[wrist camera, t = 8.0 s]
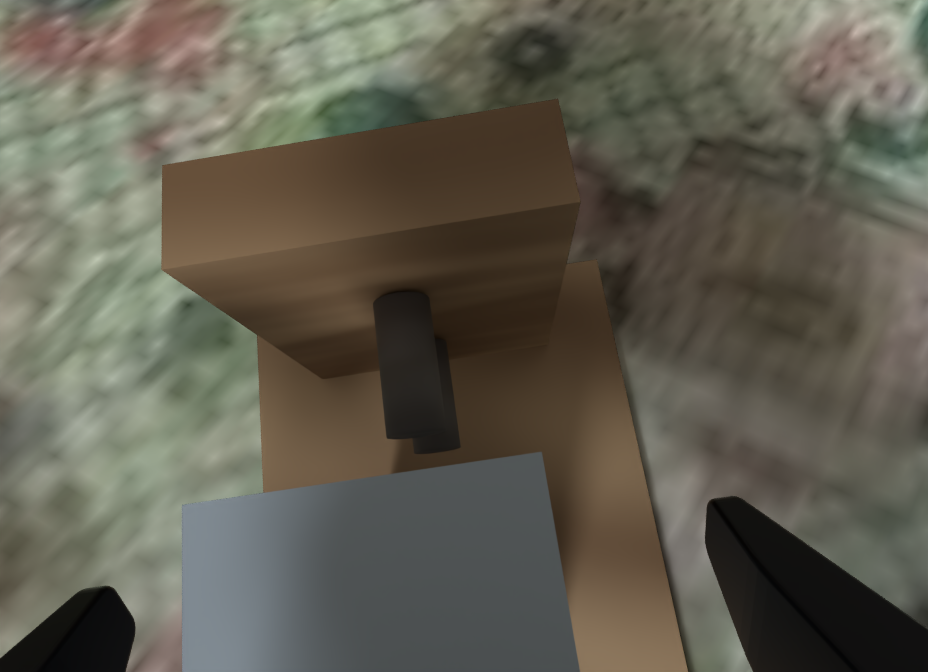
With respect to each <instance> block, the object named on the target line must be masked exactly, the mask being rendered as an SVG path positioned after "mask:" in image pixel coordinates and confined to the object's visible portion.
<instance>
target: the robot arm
mask: <svg viewBox="0 0 928 672" xmlns="http://www.w3.org/2000/svg"><path fill="white" fill-rule="evenodd" d="M705 544H706V549H707V553H708V556H709V559H710V561H711V564H712V567H713V569H714V572H715V575H716V577H717V580H718V583H719V586H720V588H721V591H722V594H723V596H724V599H725V602H726V604H727V607H728V610H729V612H730V615H731V618H732V620H733V623H734V626H735V628H736V631H737V634H738V637H739V639H740V642H741V644H742V647H743V649H744V652H745V655H746V657H747V659H748V661H749V664H750V666H751V668H752V670H753V672H928V628H926V627H925V626H923V625H922V624H920V623H919V622H918V621H916V620H915V619H913V618H912V617H910V616H909V615H908V614H906V613H905V612H903V611H902V610H900V609H899V608H898V607H896V606H895V605H893V604H892V603H890V602H889V601H888V600H886V599H885V598H883V597H882V596H880V595H879V594H877V593H876V592H875V591H873V590H872V589H870V588H869V587H867V586H866V585H865V584H863V583H862V582H860V581H859V580H857V579H856V578H855V577H853V576H852V575H850V574H849V573H847V572H846V571H845V570H843V569H842V568H840V567H839V566H837V565H836V564H835V563H833V562H832V561H830V560H829V559H827V558H826V557H825V556H823V555H822V554H820V553H819V552H817V551H816V550H815V549H813V548H812V547H810V546H809V545H807V544H806V543H805V542H803V541H802V540H800V539H799V538H797V537H796V536H795V535H793V534H792V533H790V532H789V531H787V530H786V529H785V528H783V527H782V526H780V525H779V524H777V523H776V522H775V521H773V520H772V519H770V518H769V517H767V516H766V515H765V514H763V513H762V512H760V511H759V510H757V509H756V508H755V507H753V506H752V505H750V504H749V503H747V502H746V501H745V500H743V499H741V498H739V497H737V496H730V497H723V498H716V499H712V500H710V501H709V502H708V505H707V514H706V531H705ZM134 637H135V622H134V618H133V616H132V615H131V613H130V612H129V610H128V609H127V607H126V606H125V604H124V602H123V601H122V599H121V598H120V596H119V595H118V593H117V592H116V590H115V589H114V588H112V587H110V586H100V587H93V588H87V589H83V590H81V591H79V592H78V593H76V594H75V595H74V596H73V597H71V598H70V599H69V600H68V601H67V602H66V603H64V604H63V605H62V606H61V607H60V608H59V609H57V610H56V611H55V612H54V613H53V614H52V615H50V616H49V617H48V618H47V619H46V620H45V621H43V622H42V623H41V624H40V625H39V626H38V627H36V628H35V629H34V630H33V631H32V632H31V633H29V634H28V635H27V636H26V637H25V638H24V639H22V640H21V641H20V642H19V643H18V644H17V645H15V646H14V647H13V648H12V649H11V650H9V651H8V652H7V653H6V654H5V655H4V656H2V657H1V658H0V672H126V668H127V664H128V660H129V657H130V653H131V649H132V645H133V641H134Z"/></svg>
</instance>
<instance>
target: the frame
mask: <svg viewBox="0 0 928 672" xmlns="http://www.w3.org/2000/svg"><path fill="white" fill-rule="evenodd" d="M580 202H581V201H580V197H579V192H578V188H577V183H576V179H575V174H574V169H573V165H572V160H571V156H570V151H569V147H568V142H567V138H566V133H565V128H564V124H563V119H562V115H561V110H560V106H559V101H558V99H554V100H548V101H542V102H536V103H530V104H524V105H518V106H512V107H506V108H500V109H494V110H488V111H482V112H476V113H470V114H465V115H459V116H453V117H447V118H441V119H435V120H429V121H423V122H417V123H411V124H405V125H399V126H393V127H387V128H381V129H375V130H369V131H363V132H357V133H352V134H346V135H340V136H334V137H328V138H322V139H316V140H310V141H304V142H298V143H292V144H286V145H280V146H274V147H268V148H262V149H256V150H250V151H245V152H239V153H233V154H227V155H221V156H215V157H209V158H203V159H197V160H191V161H185V162H179V163H173V164H167V165H162V269H161V270H163V271H164V272H166V273H167V274H169V275H170V276H172V277H173V278H174V279H176V280H177V281H179V282H180V283H182V284H183V285H185V286H186V287H188V288H189V289H191V290H192V291H194V292H195V293H197V294H198V295H199V296H201V297H202V298H204V299H205V300H207V301H208V302H210V303H211V304H213V305H214V306H216V307H217V308H219V309H220V310H221V311H223V312H224V313H226V314H227V315H229V316H230V317H232V318H233V319H235V320H236V321H238V322H239V323H241V324H242V325H243V326H245V327H246V328H248V329H249V330H251V331H252V332H254V333H255V334H257V345H258V370H259V395H260V420H261V444H262V469H263V493H266V492H273V491H280V490H286V489H293V488H300V487H307V486H313V485H320V484H327V483H334V482H340V481H347V480H354V479H361V478H367V477H374V476H381V475H388V474H394V473H401V472H408V471H415V470H421V469H428V468H435V467H442V466H449V465H455V464H462V463H469V462H476V461H482V460H489V459H496V458H503V457H509V456H516V455H523V454H530V453H536V452H542V456H543V462H544V467H545V473H546V479H547V485H548V490H549V496H550V502H551V508H552V513H553V519H554V525H555V531H556V536H557V542H558V548H559V553H560V559H561V565H562V571H563V576H564V582H565V588H566V594H567V599H568V605H569V611H570V617H571V622H572V628H573V634H574V640H575V645H576V651H577V657H578V662H579V668H580V672H688V669H687V665H686V660H685V656H684V651H683V647H682V642H681V638H680V633H679V628H678V624H677V619H676V615H675V610H674V606H673V601H672V597H671V592H670V588H669V583H668V579H667V574H666V570H665V565H664V561H663V556H662V552H661V547H660V543H659V538H658V534H657V529H656V525H655V520H654V516H653V511H652V506H651V502H650V497H649V493H648V488H647V484H646V479H645V475H644V470H643V466H642V461H641V457H640V452H639V448H638V443H637V439H636V434H635V430H634V425H633V421H632V416H631V412H630V407H629V403H628V398H627V393H626V389H625V384H624V380H623V375H622V371H621V366H620V362H619V357H618V353H617V348H616V344H615V339H614V335H613V330H612V326H611V321H610V317H609V312H608V308H607V303H606V299H605V294H604V290H603V285H602V281H601V276H600V271H599V267H598V262H597V259H596V260H589V261H583V262H577V263H571V264H566V263H567V259H568V255H569V250H570V246H571V242H572V237H573V233H574V228H575V224H576V220H577V215H578V211H579V206H580Z"/></svg>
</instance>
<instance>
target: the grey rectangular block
mask: <svg viewBox="0 0 928 672" xmlns="http://www.w3.org/2000/svg"><path fill="white" fill-rule="evenodd" d="M182 672H580V668H579V662H578V657H577V651H576V645H575V640H574V634H573V628H572V622H571V617H570V611H569V605H568V599H567V594H566V588H565V582H564V576H563V571H562V565H561V559H560V553H559V548H558V542H557V536H556V531H555V525H554V519H553V513H552V508H551V502H550V496H549V490H548V485H547V479H546V473H545V467H544V462H543V456H542V452H536V453H530V454H523V455H516V456H509V457H503V458H496V459H489V460H482V461H476V462H469V463H462V464H455V465H449V466H442V467H435V468H428V469H421V470H415V471H408V472H401V473H394V474H388V475H381V476H374V477H367V478H361V479H354V480H347V481H340V482H334V483H327V484H320V485H313V486H307V487H300V488H293V489H286V490H280V491H273V492H266V493H259V494H253V495H246V496H239V497H232V498H226V499H219V500H212V501H205V502H198V503H192V504H185V505H182Z"/></svg>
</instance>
